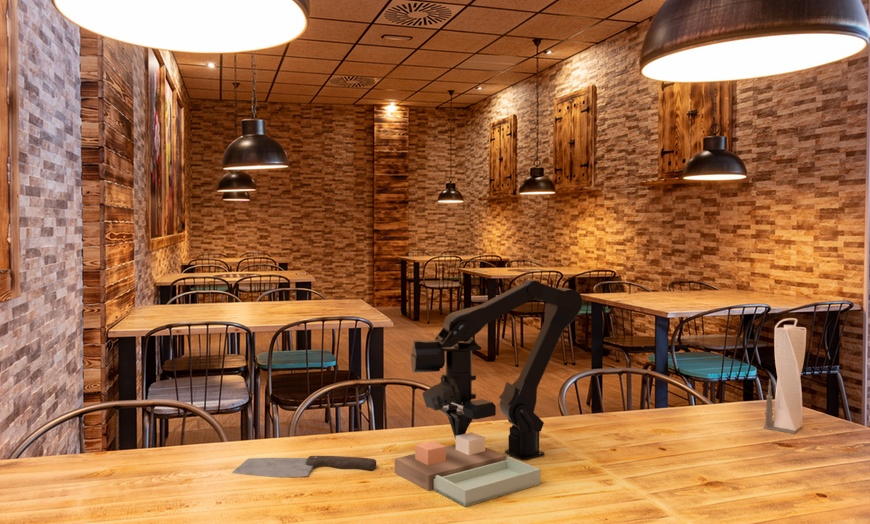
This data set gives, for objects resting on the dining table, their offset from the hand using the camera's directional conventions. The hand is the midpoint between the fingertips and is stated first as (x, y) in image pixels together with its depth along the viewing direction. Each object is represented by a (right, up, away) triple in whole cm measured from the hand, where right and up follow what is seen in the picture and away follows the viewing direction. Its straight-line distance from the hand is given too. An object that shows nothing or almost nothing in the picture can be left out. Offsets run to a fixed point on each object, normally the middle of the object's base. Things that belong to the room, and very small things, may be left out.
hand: (458, 441), depth 146 cm
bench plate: (-2, -4, -7) cm, 9 cm away
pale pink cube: (+2, -1, -3) cm, 4 cm away
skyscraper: (+85, -3, +25) cm, 88 cm away
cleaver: (-32, -5, -6) cm, 33 cm away
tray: (+5, -5, -16) cm, 18 cm away
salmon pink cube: (-6, -1, -9) cm, 11 cm away
